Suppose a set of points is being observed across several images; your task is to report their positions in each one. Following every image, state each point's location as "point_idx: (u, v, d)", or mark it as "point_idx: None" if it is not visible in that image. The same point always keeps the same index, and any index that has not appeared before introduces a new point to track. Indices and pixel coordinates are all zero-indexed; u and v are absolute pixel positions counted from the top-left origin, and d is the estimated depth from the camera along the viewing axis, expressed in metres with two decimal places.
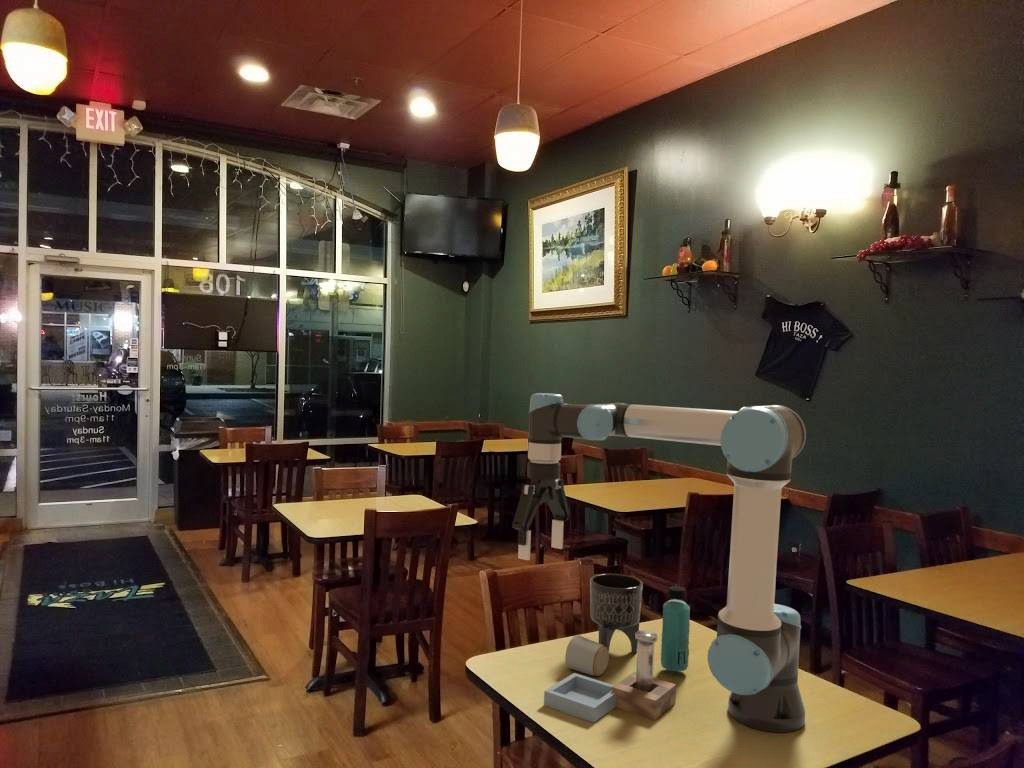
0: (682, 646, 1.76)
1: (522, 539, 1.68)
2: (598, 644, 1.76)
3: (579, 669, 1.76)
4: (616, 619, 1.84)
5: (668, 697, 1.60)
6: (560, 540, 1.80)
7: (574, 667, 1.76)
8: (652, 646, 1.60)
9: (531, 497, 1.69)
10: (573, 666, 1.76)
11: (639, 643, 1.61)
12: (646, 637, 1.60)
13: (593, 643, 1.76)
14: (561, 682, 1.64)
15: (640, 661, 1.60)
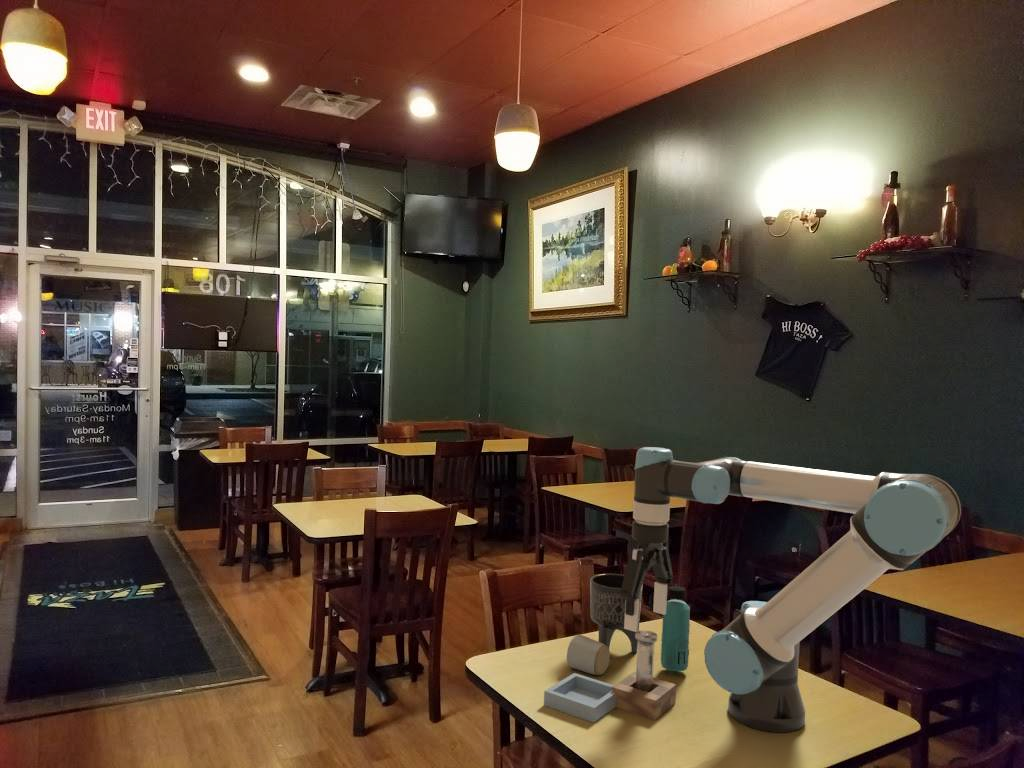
0: (682, 646, 1.76)
1: (630, 609, 1.54)
2: (599, 643, 1.77)
3: (580, 668, 1.76)
4: (616, 619, 1.84)
5: (668, 697, 1.60)
6: (664, 605, 1.66)
7: (576, 666, 1.76)
8: (652, 646, 1.60)
9: (640, 563, 1.55)
10: (574, 665, 1.77)
11: (639, 643, 1.61)
12: (646, 637, 1.60)
13: (594, 642, 1.77)
14: (561, 682, 1.64)
15: (640, 661, 1.60)
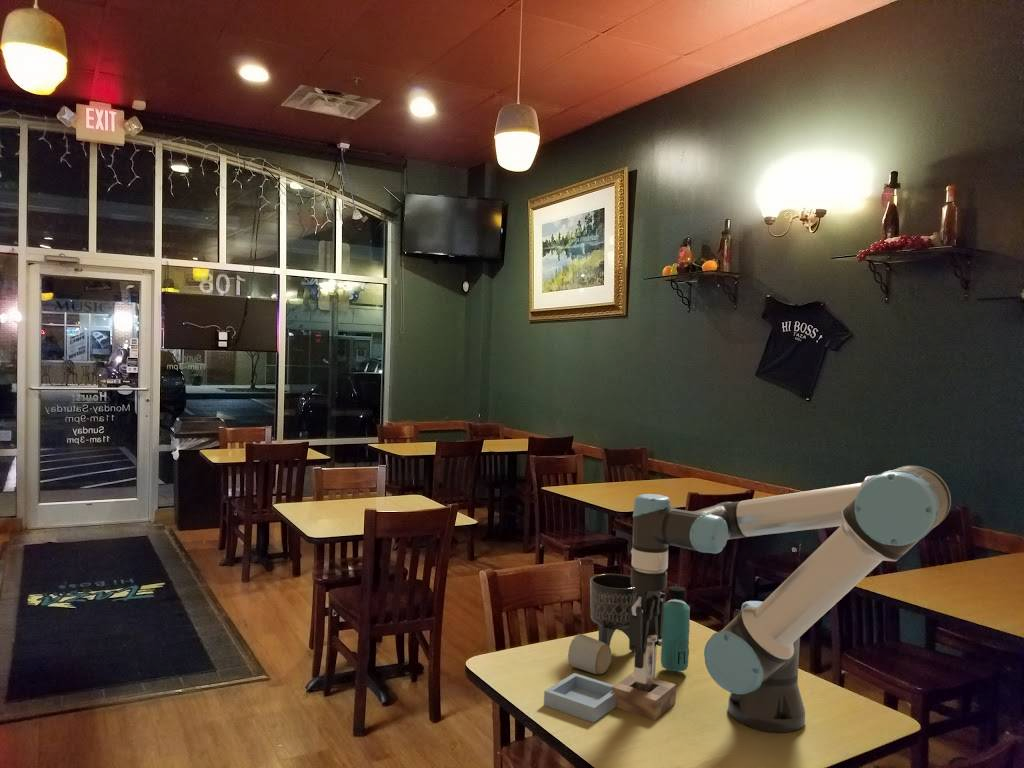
0: (682, 646, 1.76)
1: (639, 662, 1.58)
2: (601, 643, 1.77)
3: (582, 667, 1.77)
4: (616, 619, 1.84)
5: (668, 697, 1.60)
6: (653, 668, 1.62)
7: (577, 665, 1.77)
8: (652, 646, 1.60)
9: (641, 617, 1.56)
10: (576, 664, 1.77)
11: None
12: None
13: (596, 642, 1.77)
14: (561, 682, 1.64)
15: None
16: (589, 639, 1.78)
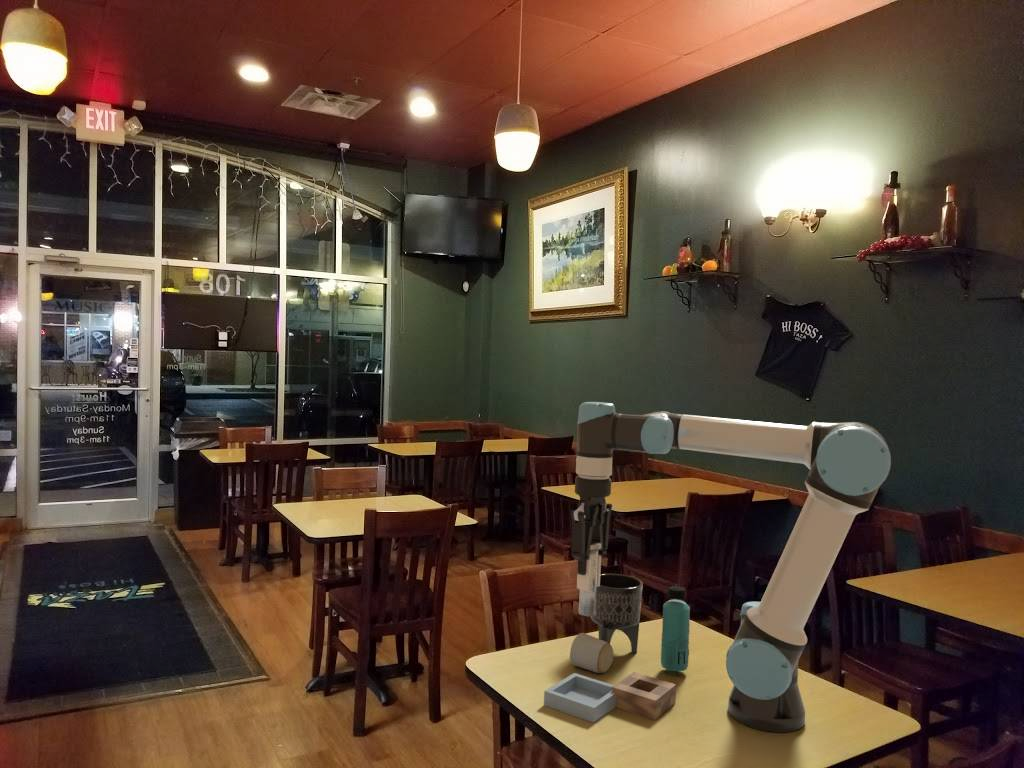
0: (682, 646, 1.76)
1: (582, 568, 1.57)
2: (602, 642, 1.78)
3: (584, 666, 1.77)
4: (616, 619, 1.84)
5: (668, 697, 1.60)
6: (597, 577, 1.61)
7: (579, 664, 1.78)
8: (595, 554, 1.59)
9: (583, 523, 1.55)
10: (578, 663, 1.78)
11: None
12: None
13: (598, 641, 1.78)
14: (561, 682, 1.64)
15: None
16: (591, 638, 1.79)
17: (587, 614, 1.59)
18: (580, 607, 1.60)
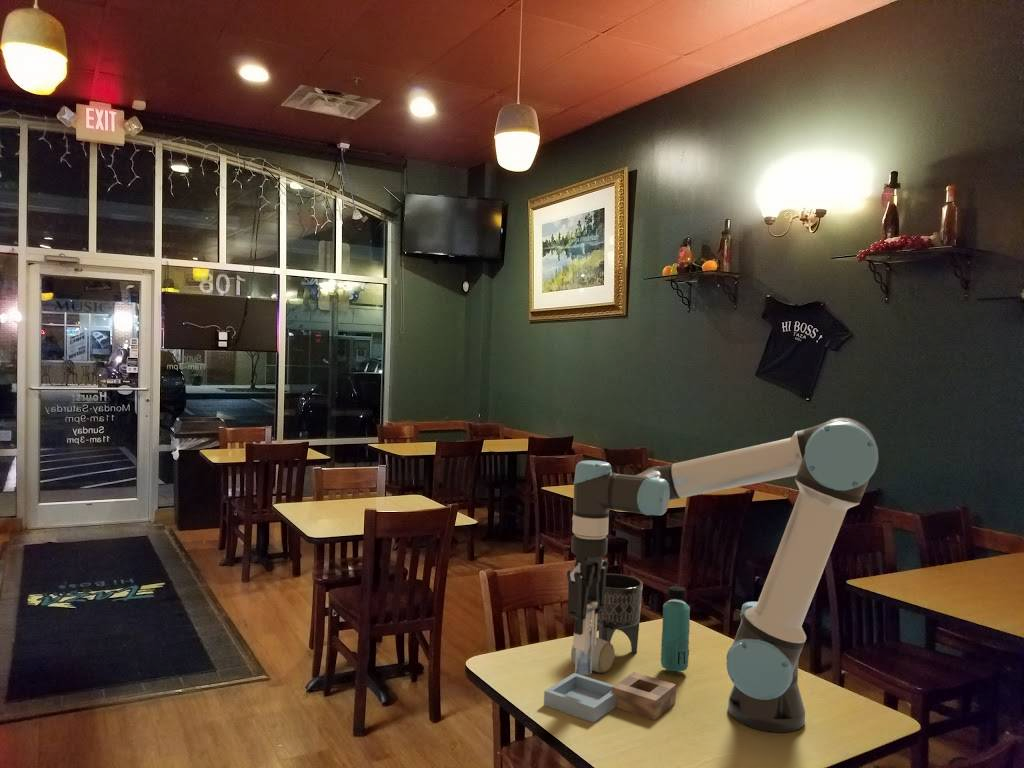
0: (682, 646, 1.76)
1: (578, 628, 1.57)
2: (604, 641, 1.78)
3: None
4: (616, 619, 1.84)
5: (668, 697, 1.60)
6: (593, 635, 1.62)
7: None
8: (592, 613, 1.59)
9: (580, 583, 1.55)
10: None
11: None
12: None
13: (599, 640, 1.78)
14: (561, 682, 1.64)
15: None
16: None
17: (583, 673, 1.59)
18: (576, 666, 1.60)
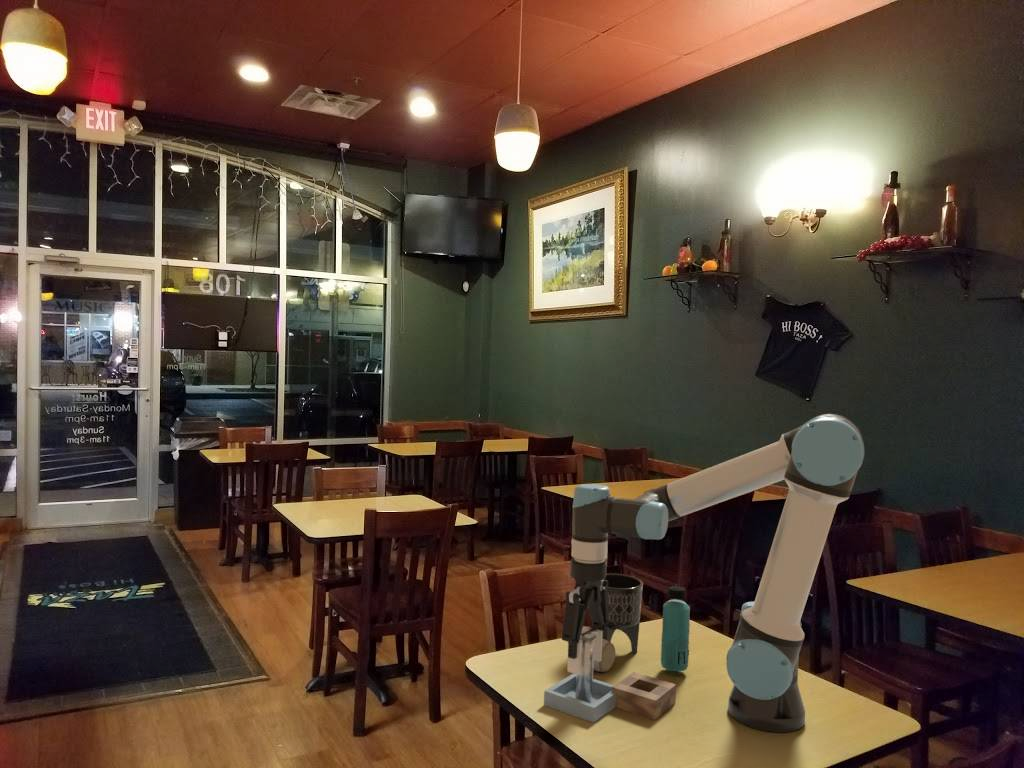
0: (682, 646, 1.76)
1: (572, 652, 1.56)
2: (604, 641, 1.78)
3: None
4: (616, 619, 1.84)
5: (668, 697, 1.60)
6: (599, 652, 1.63)
7: None
8: (592, 642, 1.59)
9: (578, 605, 1.55)
10: None
11: None
12: (586, 633, 1.59)
13: None
14: (561, 682, 1.64)
15: None
16: None
17: None
18: (576, 695, 1.60)
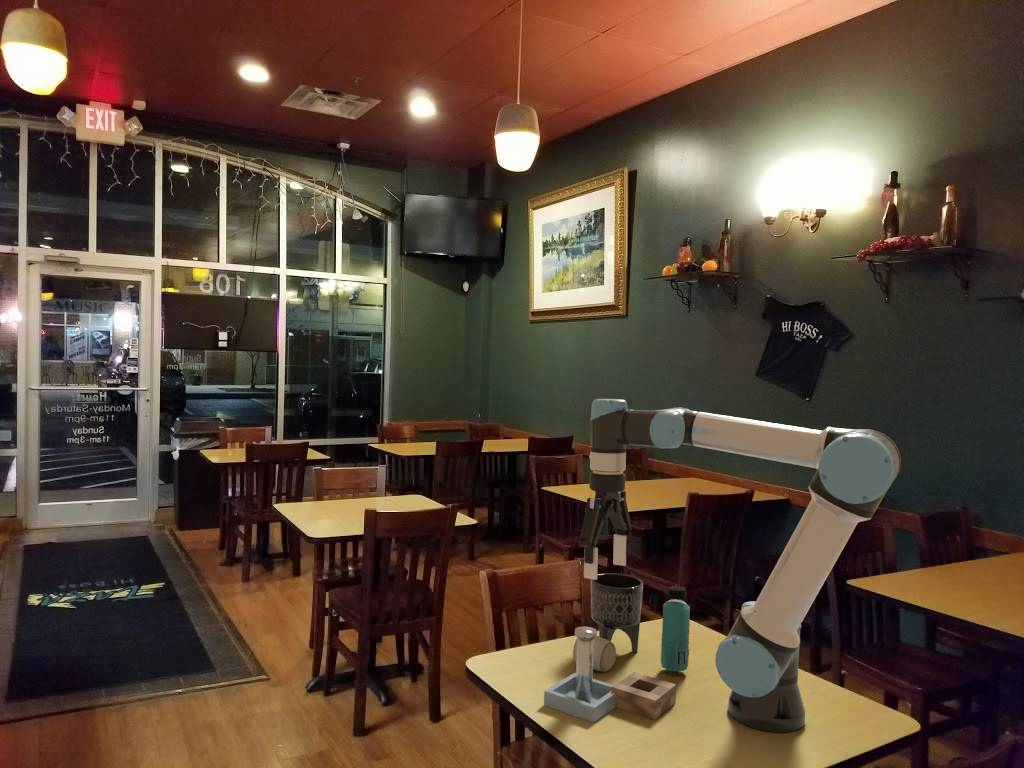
0: (682, 646, 1.76)
1: (589, 557, 1.55)
2: (605, 640, 1.79)
3: None
4: (617, 619, 1.85)
5: (668, 697, 1.60)
6: (623, 556, 1.67)
7: None
8: (591, 642, 1.59)
9: (598, 511, 1.56)
10: None
11: (578, 639, 1.60)
12: (585, 633, 1.59)
13: (600, 639, 1.79)
14: (561, 682, 1.64)
15: (579, 658, 1.60)
16: None
17: None
18: (576, 695, 1.60)
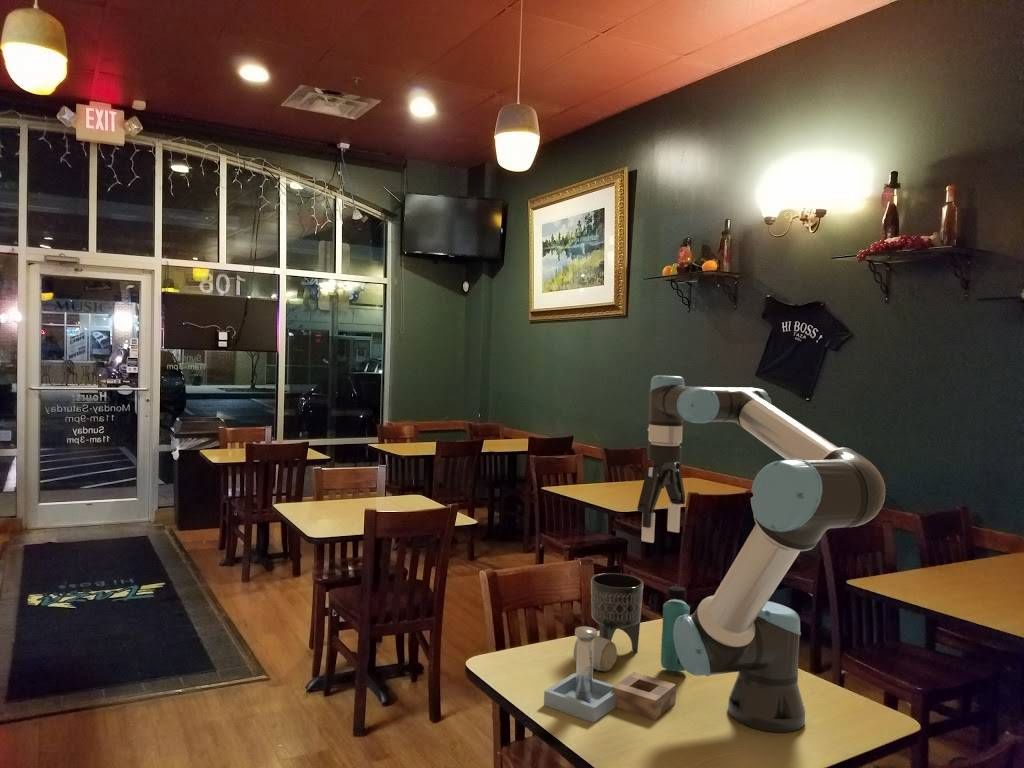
0: None
1: (647, 521, 1.67)
2: (606, 640, 1.79)
3: None
4: (617, 619, 1.85)
5: (668, 697, 1.60)
6: (677, 524, 1.79)
7: None
8: (591, 642, 1.59)
9: (656, 479, 1.68)
10: None
11: (578, 639, 1.60)
12: (586, 633, 1.59)
13: (601, 639, 1.79)
14: (561, 682, 1.64)
15: (579, 657, 1.60)
16: None
17: None
18: (576, 695, 1.60)
